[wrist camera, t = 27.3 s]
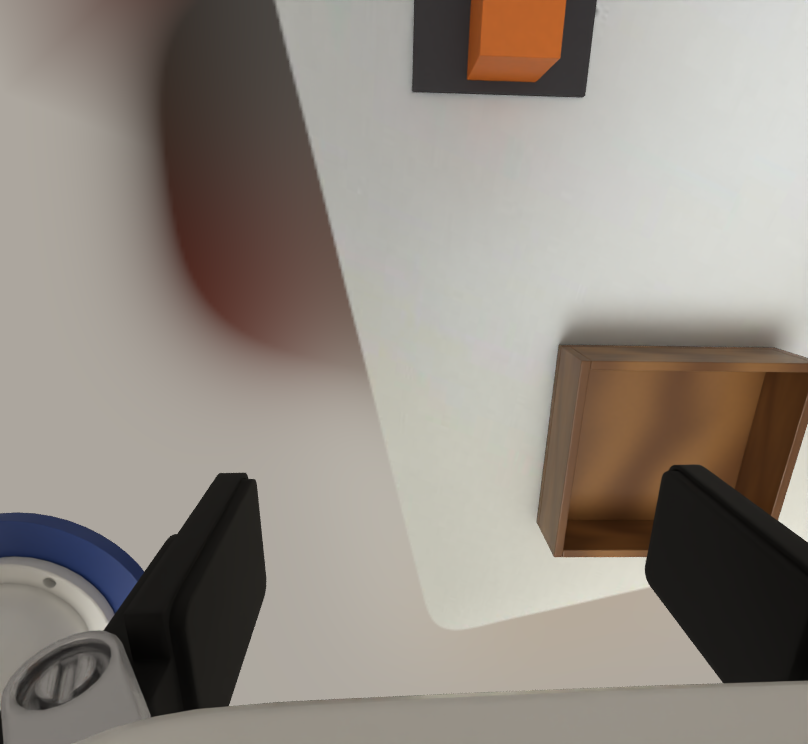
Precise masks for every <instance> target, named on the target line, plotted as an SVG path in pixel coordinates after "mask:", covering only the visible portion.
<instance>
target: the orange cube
mask: <svg viewBox="0 0 808 744" xmlns="http://www.w3.org/2000/svg"><path fill="white" fill-rule="evenodd" d="M565 9H566V0H471V10H470V28H469V47H468V66H467V80H483V81H515V82H536V81H537V80H538V79H540V78H541V77H542V76H543V75H544V74H545V73H546V72H547V71H548V70H549V69H550V68H551V67H552V66H553V65H554V64H555V63H556V62H557V61H558V60H559V59H560V57H561V47H562V38H563V28H564V18H565Z"/></svg>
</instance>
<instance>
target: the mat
mask: <svg viewBox="0 0 808 744" xmlns="http://www.w3.org/2000/svg"><path fill="white" fill-rule="evenodd" d="M596 2H597V0H566V9H565V18H564V28H563V38H562V47H561V57H560V59H559V60H558V61H557V62H556V63H555V64H554V65H553V66H552V67H551V68H550V69H549V70H548V71H547V72H546V73H545V74H544V75H543V76H542V77H541V78H540V79H538V80H537V81H536V82H515V81H483V80H467V66H468V47H469V28H470V10H471V0H414V42H413V86H412V91H413V92H429V93H461V94H492V95H524V96H555V97H584V96H585V92H586V84H587V75H588V67H589V59H590V51H591V43H592V35H593V26H594V18H595V10H596Z"/></svg>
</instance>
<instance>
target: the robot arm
mask: <svg viewBox="0 0 808 744" xmlns="http://www.w3.org/2000/svg"><path fill="white" fill-rule="evenodd" d="M645 575H646V579H647V581H648V583H649V585H650V586H651V588H652V589H653V590H654V592H655V593H656V594H657V596H658V597H659V598H660V600H661V601H662V602H663V603H664V605H665V606H666V608H667V609H668V610H669V612H670V613H671V614H672V616H673V617H674V618H675V620H676V621H677V622H678V624H679V625H680V626H681V628H682V629H683V630H684V631H685V633H686V634H687V636H688V637H689V638H690V640H691V641H692V642H693V644H694V645H695V646H696V647H697V649H698V650H699V651H700V653H701V654H702V656H703V657H704V658H705V659H706V661H707V662H708V663H709V665H710V666H711V667H712V669H713V670H714V671H715V673H716V674H717V675H718V677H719V678H720V679H721V681H722V682H723V683H721V684H690V685H660V686H633V687H607V688H580V689H556V690H532V691H506V692H481V693H460V694H437V695H417V696H416V695H415V696H395V697H394V696H393V697H371V698H351V699H329V700H310V701H291V702H274V703H262V704H250V705H239V706H229V704H230V701H231V697H232V694H233V691H234V688H235V685H236V682H237V679H238V676H239V673H240V670H241V666H242V664H243V661H244V657H245V654H246V651H247V648H248V645H249V642H250V639H251V636H252V632H253V630H254V627H255V624H256V620H257V618H258V614H259V611H260V608H261V605H262V602H263V599H264V596H265V591H266V572H265V561H264V551H263V541H262V531H261V522H260V511H259V503H258V491H257V484H256V480H255V479H248V476H247V474H246V473H219V474H218V475H217V477H216V478H215V480H214V481H213V483H212V484H211V485H210V487H209V489H208V490H207V491H206V493H205V494H204V496H203V497H202V499H201V500H200V502H199V503H198V505H197V506H196V508H195V509H194V510H193V512H192V513H191V515H190V516H189V518H188V519H187V521H186V522H185V524H184V525H183V527H182V528H181V530H180V531H179V532H178V534H174V535H172V536H170V537H169V538H168V539H167V541H166V542H165V543H164V545H163V546H162V548H161V549H160V550H159V552H158V553H157V555H156V556H155V557H154V559H153V560H152V562H151V563H150V565H149V566H148V568H147V569H146V570H145V572H144V573H143V575H142V576H141V577H140V579H139V580H138V582H137V583H136V585H135V586H134V587H133V589H132V590H131V592H130V593H129V595H128V596H127V597H126V599H125V600H124V602H123V603H122V605H121V606H120V607H119V609H118V610H117V612H116V613H115V614H114V612H113V609H112V608H111V606H110V605H109V603H108V602H107V600H106V599H105V597H104V596H103V595H102V594H101V593H100V592H99V591H98V590H97V588H96V587H95V586H94V585H92V584H91V583H90V582H88V581H87V580H86V579H84V578H83V577H82V576H80V575H79V574H77V573H75V572H73V571H71V570H69V569H68V568H66V567H63V566H60V565H58V564H55V563H52V562H49V561H45V560H40V559H36V558H30V557H16V556H13V557H1V558H0V744H808V542H806V541H805V540H804V539H802V538H801V537H799V536H798V535H797V534H795V533H794V532H793V531H791V530H790V529H788V528H787V527H786V526H784V525H783V524H782V523H780V522H779V521H778V520H776V519H775V518H773V517H772V516H771V515H769V514H768V513H767V512H765V511H764V510H763V509H761V508H760V507H758V506H757V505H756V504H754V503H753V502H752V501H750V500H749V499H748V498H746V497H745V496H743V495H742V494H741V493H739V492H738V491H737V490H735V489H734V488H733V487H731V486H730V485H728V484H727V483H726V482H724V481H723V480H722V479H720V478H719V477H718V476H716V475H715V474H713V473H712V472H711V471H709V470H708V469H707V468H705V467H704V466H702V465H698V464H692V465H673V466H671V467H670V468H669V470H668V471H666V472H664V473H663V475H662V478H661V483H660V489H659V494H658V500H657V505H656V510H655V516H654V521H653V527H652V532H651V537H650V543H649V548H648V554H647V559H646V564H645Z"/></svg>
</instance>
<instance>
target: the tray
mask: <svg viewBox="0 0 808 744" xmlns="http://www.w3.org/2000/svg"><path fill="white" fill-rule="evenodd" d="M807 424H808V358H806V357H803V356H800V355H797V354H793V353H790V352H787V351H784V350H781V349H777V348H769V347H694V346H618V345H559V348H558V356H557V364H556V372H555V380H554V388H553V396H552V404H551V412H550V420H549V428H548V436H547V444H546V452H545V460H544V468H543V476H542V484H541V492H540V500H539V508H538V516H537V524H538V526H539V528H540V530H541V532H542V534H543V536H544V538H545V540H546V542H547V544H548V546H549V548H550V550H551V552H552V554H553V556H554V557H647V554H648V548H649V543H650V537H651V532H652V527H653V521H654V516H655V510H656V505H657V500H658V494H659V489H660V483H661V478H662V475H663V473H664V472H666V471H668V470H669V468H670V467H671V466H673V465H692V464H698V465H702V466H704V467H705V468H707V469H708V470H709V471H711V472H712V473H713V474H715V475H716V476H718V477H719V478H720V479H722V480H723V481H724V482H726V483H727V484H728V485H730V486H731V487H733V488H734V489H735V490H737V491H738V492H739V493H741V494H742V495H743V496H745V497H746V498H748V499H749V500H750V501H752V502H753V503H754V504H756V505H757V506H758V507H760V508H761V509H763V510H764V511H765V512H767V513H768V514H769V515H771V516H772V517H773V518H775V519H776V520H778V518H779V515H780V512H781V508H782V505H783V502H784V499H785V495H786V492H787V489H788V486H789V482H790V479H791V476H792V473H793V469H794V466H795V463H796V460H797V456H798V453H799V450H800V447H801V443H802V440H803V437H804V434H805V430H806V427H807Z"/></svg>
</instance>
